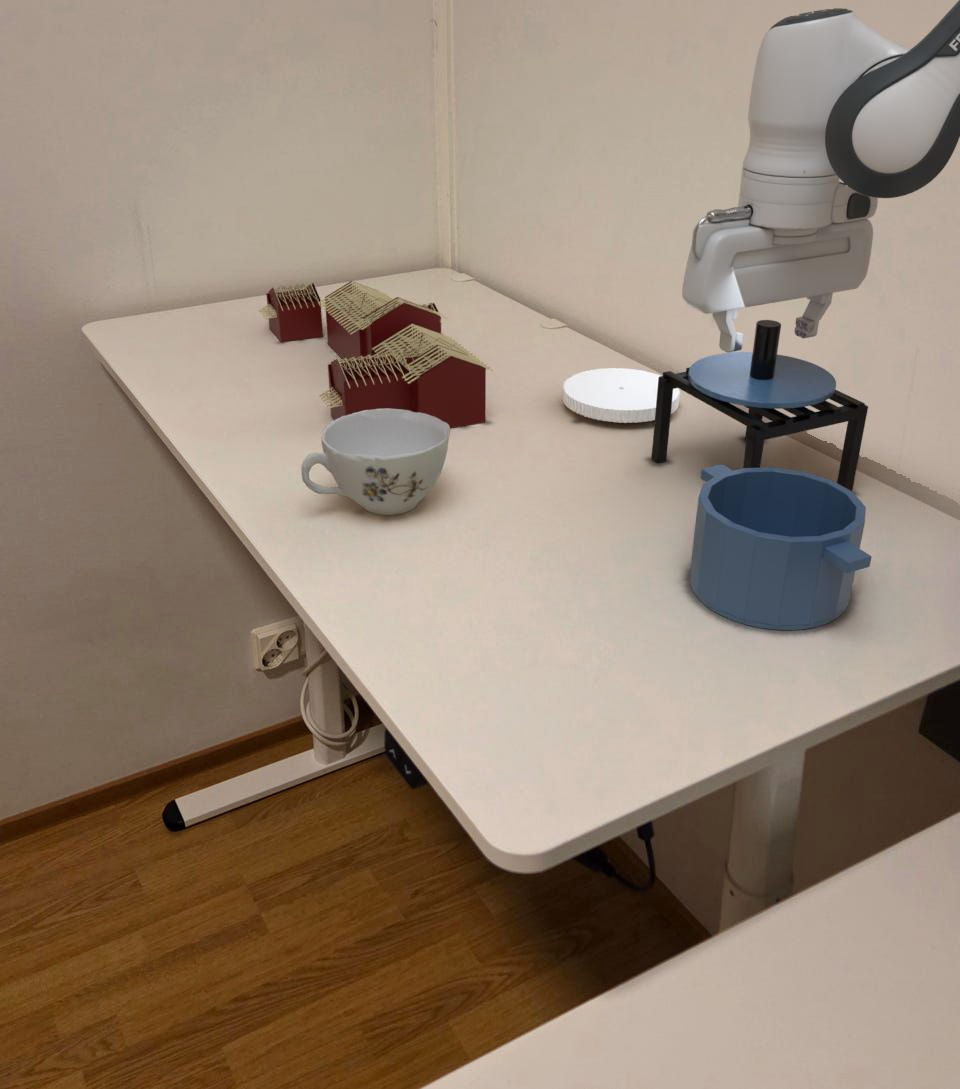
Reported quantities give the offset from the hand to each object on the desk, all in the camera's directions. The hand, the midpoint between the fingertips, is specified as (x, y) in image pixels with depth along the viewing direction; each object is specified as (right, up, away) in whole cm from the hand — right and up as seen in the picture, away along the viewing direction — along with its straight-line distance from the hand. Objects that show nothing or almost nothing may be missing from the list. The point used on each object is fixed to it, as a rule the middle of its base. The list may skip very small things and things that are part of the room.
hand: (768, 343), depth 110 cm
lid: (0, -4, +2) cm, 4 cm away
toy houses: (-44, +3, +35) cm, 56 cm away
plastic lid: (-12, -4, +24) cm, 27 cm away
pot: (-3, -24, -13) cm, 27 cm away
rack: (0, -13, +7) cm, 15 cm away
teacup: (-39, -16, +1) cm, 42 cm away
